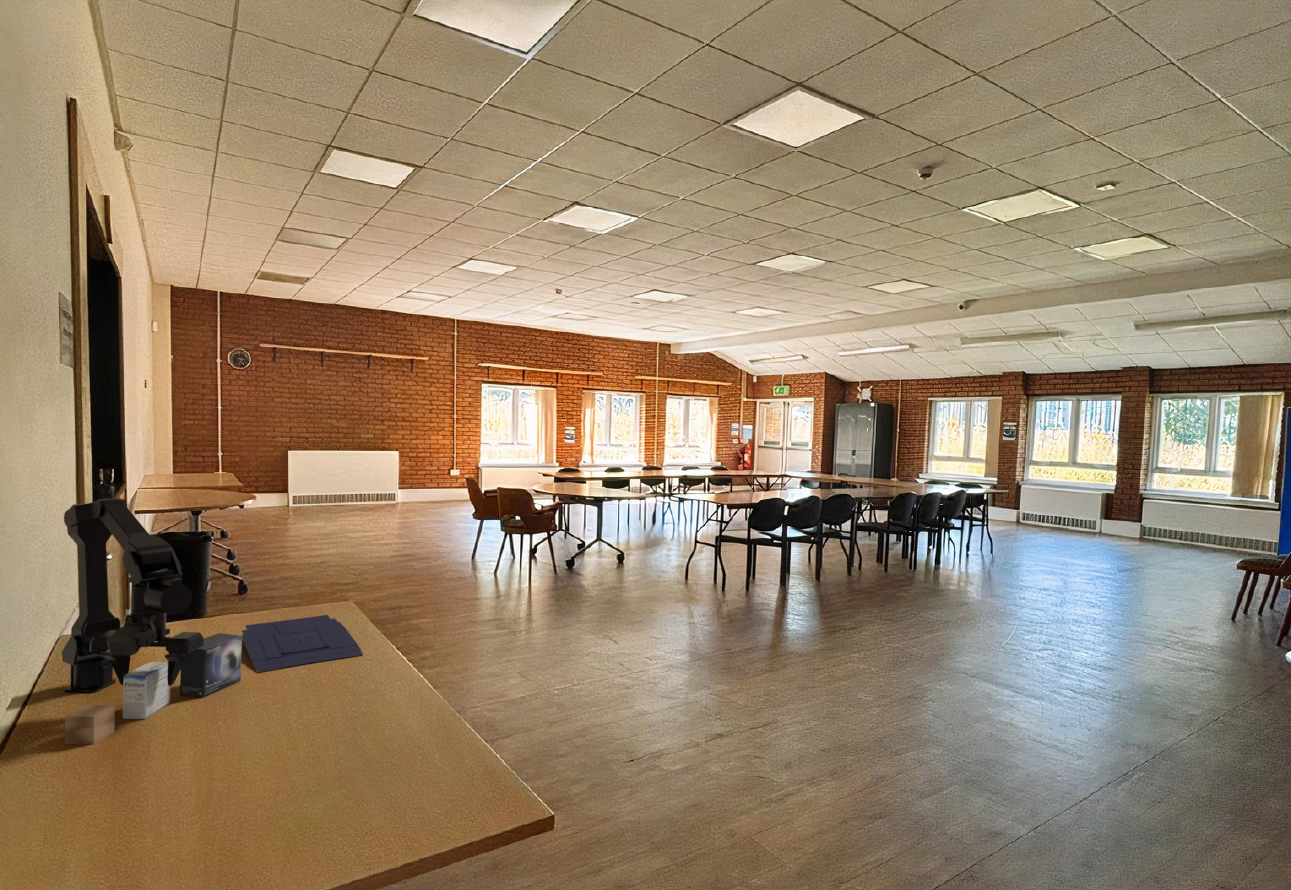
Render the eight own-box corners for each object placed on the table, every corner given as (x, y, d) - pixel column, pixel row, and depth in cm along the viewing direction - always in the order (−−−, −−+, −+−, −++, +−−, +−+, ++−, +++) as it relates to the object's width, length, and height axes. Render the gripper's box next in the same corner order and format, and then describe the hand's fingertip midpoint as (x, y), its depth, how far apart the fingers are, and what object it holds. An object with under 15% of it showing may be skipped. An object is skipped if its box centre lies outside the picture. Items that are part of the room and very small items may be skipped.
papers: (333, 623, 199) (334, 610, 198) (364, 664, 175) (364, 651, 175) (236, 636, 184) (237, 623, 183) (255, 683, 160) (255, 668, 160)
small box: (204, 698, 145) (205, 648, 145) (177, 695, 146) (178, 645, 146) (242, 681, 155) (243, 634, 155) (218, 678, 157) (219, 632, 157)
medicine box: (147, 703, 141) (148, 661, 141) (170, 703, 142) (171, 661, 142) (121, 719, 134) (122, 675, 133) (146, 719, 134) (146, 675, 134)
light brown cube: (64, 744, 123) (65, 716, 123) (86, 732, 128) (87, 705, 128) (93, 744, 123) (94, 716, 123) (114, 732, 128) (114, 705, 128)
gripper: (68, 616, 129) (66, 699, 129) (170, 618, 130) (168, 701, 130) (112, 601, 140) (110, 678, 140) (205, 604, 141) (204, 680, 141)
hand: (147, 684), depth 138 cm, fingers open, 9 cm apart
